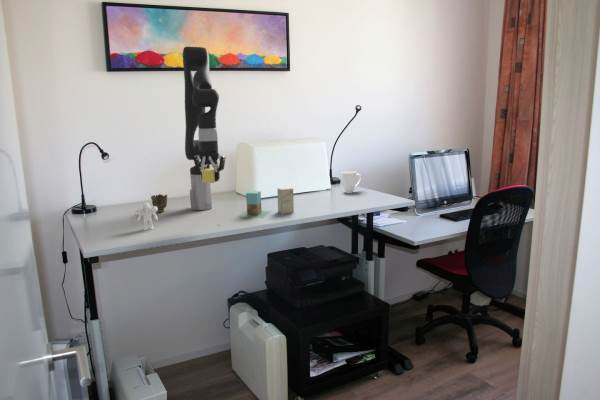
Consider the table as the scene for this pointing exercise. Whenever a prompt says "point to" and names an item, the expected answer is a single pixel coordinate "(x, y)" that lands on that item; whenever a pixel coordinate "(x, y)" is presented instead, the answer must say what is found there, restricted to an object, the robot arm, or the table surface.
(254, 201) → the teal brick
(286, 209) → the skincare box
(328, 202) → the table surface
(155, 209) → the flower shoulder figurine
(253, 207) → the walnut brick
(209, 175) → the mustard brick
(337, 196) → the table surface
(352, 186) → the mug
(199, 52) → the robot arm
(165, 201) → the cup
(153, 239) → the table surface
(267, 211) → the plate
